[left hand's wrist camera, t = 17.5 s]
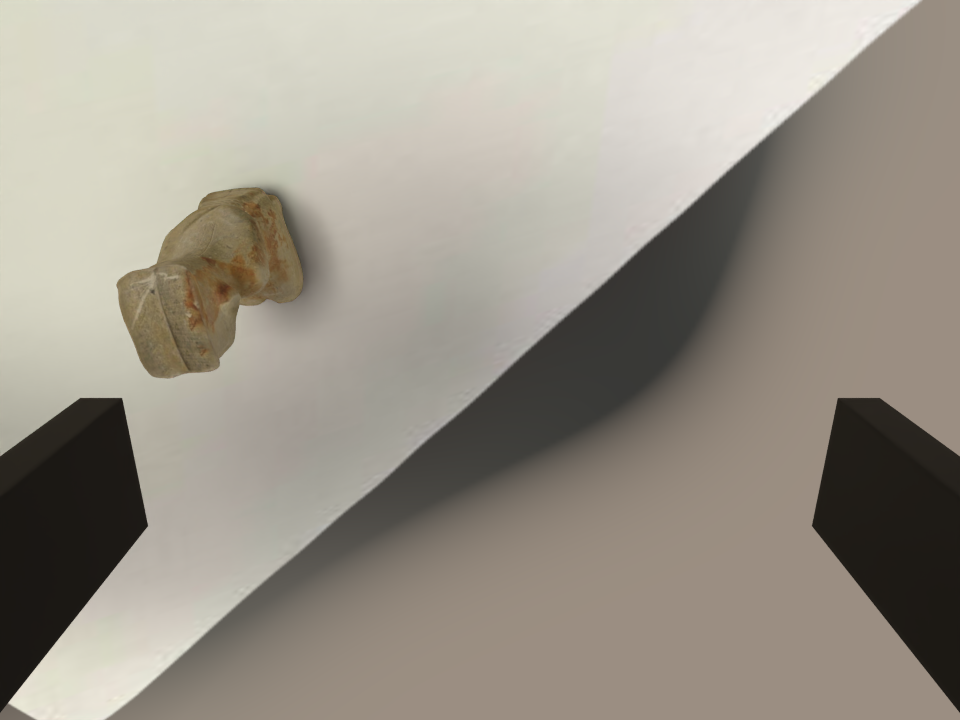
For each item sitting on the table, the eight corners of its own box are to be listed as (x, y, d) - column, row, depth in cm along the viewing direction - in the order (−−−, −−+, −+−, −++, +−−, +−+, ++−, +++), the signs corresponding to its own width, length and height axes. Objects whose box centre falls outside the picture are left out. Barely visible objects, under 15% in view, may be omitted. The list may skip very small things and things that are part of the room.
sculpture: (230, 301, 44) (111, 394, 30) (205, 187, 41) (62, 229, 27) (319, 294, 43) (243, 384, 29) (300, 179, 41) (206, 217, 27)
